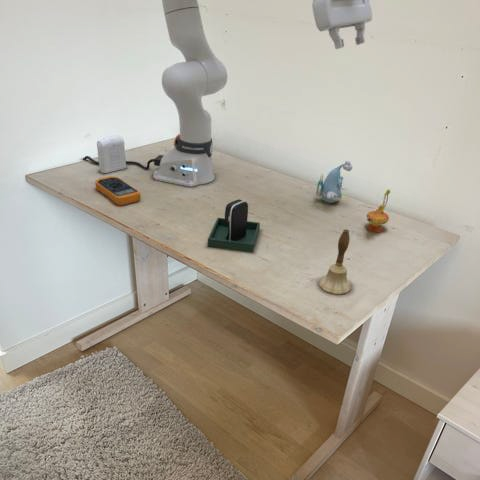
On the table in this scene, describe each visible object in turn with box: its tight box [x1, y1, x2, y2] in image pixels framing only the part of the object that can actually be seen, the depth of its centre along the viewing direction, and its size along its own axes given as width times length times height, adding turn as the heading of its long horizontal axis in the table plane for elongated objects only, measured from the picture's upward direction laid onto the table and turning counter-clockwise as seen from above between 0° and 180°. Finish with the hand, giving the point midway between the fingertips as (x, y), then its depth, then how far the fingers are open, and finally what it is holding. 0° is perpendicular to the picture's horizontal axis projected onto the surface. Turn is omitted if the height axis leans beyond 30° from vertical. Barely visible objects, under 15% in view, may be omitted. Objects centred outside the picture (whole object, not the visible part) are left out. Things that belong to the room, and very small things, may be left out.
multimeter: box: [94, 175, 142, 206], centre depth 167 cm, size 9×18×3 cm, turn 40°
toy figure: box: [315, 160, 353, 204], centre depth 168 cm, size 17×10×15 cm, turn 168°
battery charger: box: [224, 198, 249, 241], centre depth 144 cm, size 7×4×11 cm, turn 139°
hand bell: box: [318, 229, 352, 295], centre depth 125 cm, size 8×8×16 cm
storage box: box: [207, 217, 261, 253], centre depth 147 cm, size 13×14×3 cm
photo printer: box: [96, 135, 127, 174], centre depth 181 cm, size 10×4×12 cm, turn 134°
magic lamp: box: [366, 188, 391, 233], centre depth 154 cm, size 7×18×11 cm, turn 149°
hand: (350, 46), depth 127 cm, fingers open, 8 cm apart
